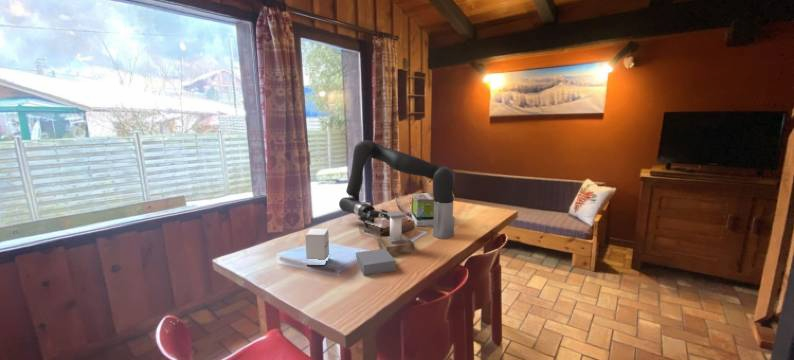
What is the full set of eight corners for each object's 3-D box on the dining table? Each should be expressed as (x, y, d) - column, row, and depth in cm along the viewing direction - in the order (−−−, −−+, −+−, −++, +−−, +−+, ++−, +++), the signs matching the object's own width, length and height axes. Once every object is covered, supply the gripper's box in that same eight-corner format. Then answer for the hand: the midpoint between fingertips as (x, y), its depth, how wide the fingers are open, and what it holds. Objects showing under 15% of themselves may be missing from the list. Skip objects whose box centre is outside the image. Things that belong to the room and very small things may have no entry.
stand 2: (403, 242, 147) (403, 234, 147) (413, 252, 136) (413, 243, 136) (378, 245, 143) (378, 237, 143) (386, 256, 132) (386, 247, 132)
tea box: (435, 225, 171) (435, 198, 168) (416, 226, 170) (416, 199, 167) (428, 217, 186) (429, 192, 183) (411, 218, 184) (411, 192, 182)
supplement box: (325, 266, 123) (324, 234, 121) (306, 266, 123) (304, 234, 121) (329, 258, 130) (328, 228, 128) (311, 258, 131) (310, 228, 128)
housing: (399, 237, 143) (399, 210, 141) (404, 241, 137) (404, 214, 135) (386, 238, 141) (386, 212, 139) (391, 243, 135) (391, 216, 133)
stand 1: (385, 257, 131) (385, 248, 130) (395, 270, 120) (395, 260, 119) (356, 262, 127) (356, 252, 126) (363, 275, 116) (363, 265, 115)
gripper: (351, 205, 155) (368, 213, 142) (376, 201, 163) (394, 208, 150) (351, 220, 156) (368, 230, 143) (376, 215, 164) (394, 224, 151)
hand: (381, 219), depth 147 cm, fingers open, 8 cm apart
